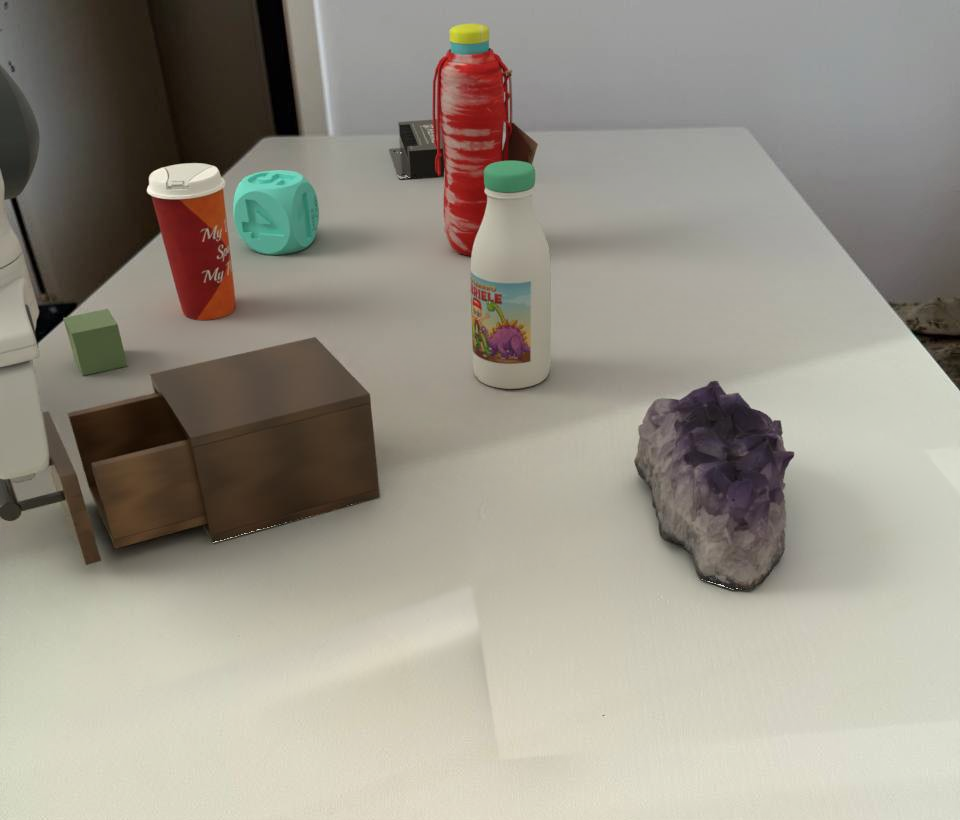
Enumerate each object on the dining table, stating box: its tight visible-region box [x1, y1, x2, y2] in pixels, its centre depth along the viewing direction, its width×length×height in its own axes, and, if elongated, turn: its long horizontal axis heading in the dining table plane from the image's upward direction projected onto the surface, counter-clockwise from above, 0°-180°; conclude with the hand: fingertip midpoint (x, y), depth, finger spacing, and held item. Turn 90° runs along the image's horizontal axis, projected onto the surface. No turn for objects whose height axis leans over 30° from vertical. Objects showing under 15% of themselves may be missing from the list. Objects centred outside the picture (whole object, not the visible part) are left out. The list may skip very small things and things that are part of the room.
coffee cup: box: [146, 162, 236, 321], centre depth 124 cm, size 8×8×15 cm
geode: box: [633, 380, 795, 591], centre depth 89 cm, size 20×12×10 cm, turn 6°
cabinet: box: [149, 336, 381, 543], centre depth 95 cm, size 15×13×10 cm
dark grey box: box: [388, 118, 444, 179], centre depth 164 cm, size 20×14×17 cm
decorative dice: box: [232, 169, 320, 256], centre depth 142 cm, size 8×8×8 cm
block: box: [62, 308, 128, 377], centre depth 117 cm, size 5×5×5 cm
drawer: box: [0, 392, 207, 566], centre depth 91 cm, size 18×11×8 cm, turn 117°
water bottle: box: [432, 23, 539, 257], centre depth 134 cm, size 12×8×25 cm, turn 95°
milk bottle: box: [470, 161, 552, 390], centre depth 107 cm, size 8×8×20 cm
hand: (21, 472), depth 87 cm, fingers closed
